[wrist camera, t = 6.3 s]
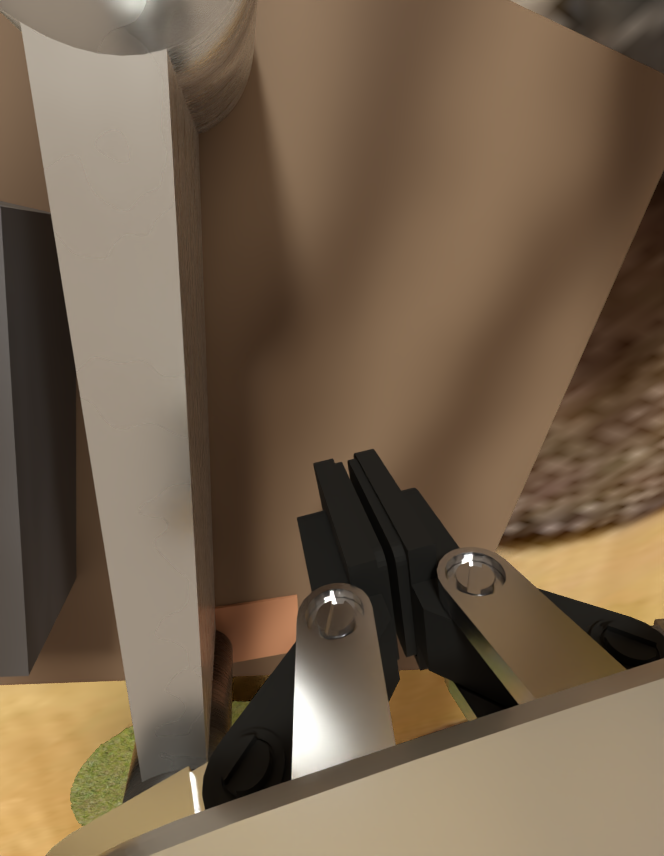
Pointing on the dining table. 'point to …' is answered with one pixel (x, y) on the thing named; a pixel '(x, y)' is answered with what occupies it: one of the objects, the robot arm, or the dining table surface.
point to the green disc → (110, 774)
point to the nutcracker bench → (335, 298)
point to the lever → (143, 326)
